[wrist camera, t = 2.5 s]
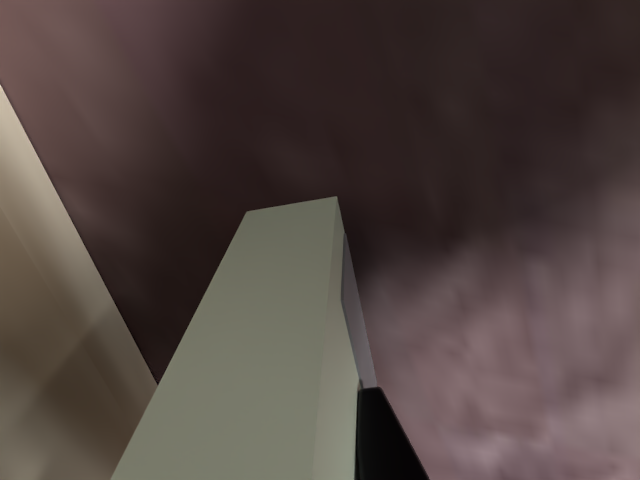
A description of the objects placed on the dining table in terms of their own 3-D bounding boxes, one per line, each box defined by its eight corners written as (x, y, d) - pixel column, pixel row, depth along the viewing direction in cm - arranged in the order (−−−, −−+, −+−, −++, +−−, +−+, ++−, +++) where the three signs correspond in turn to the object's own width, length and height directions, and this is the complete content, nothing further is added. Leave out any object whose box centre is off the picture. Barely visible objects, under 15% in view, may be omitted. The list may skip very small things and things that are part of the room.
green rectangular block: (339, 195, 9) (293, 794, 2) (380, 396, 12) (416, 950, 5) (244, 211, 10) (-51, 778, 3) (305, 403, 12) (241, 932, 5)
